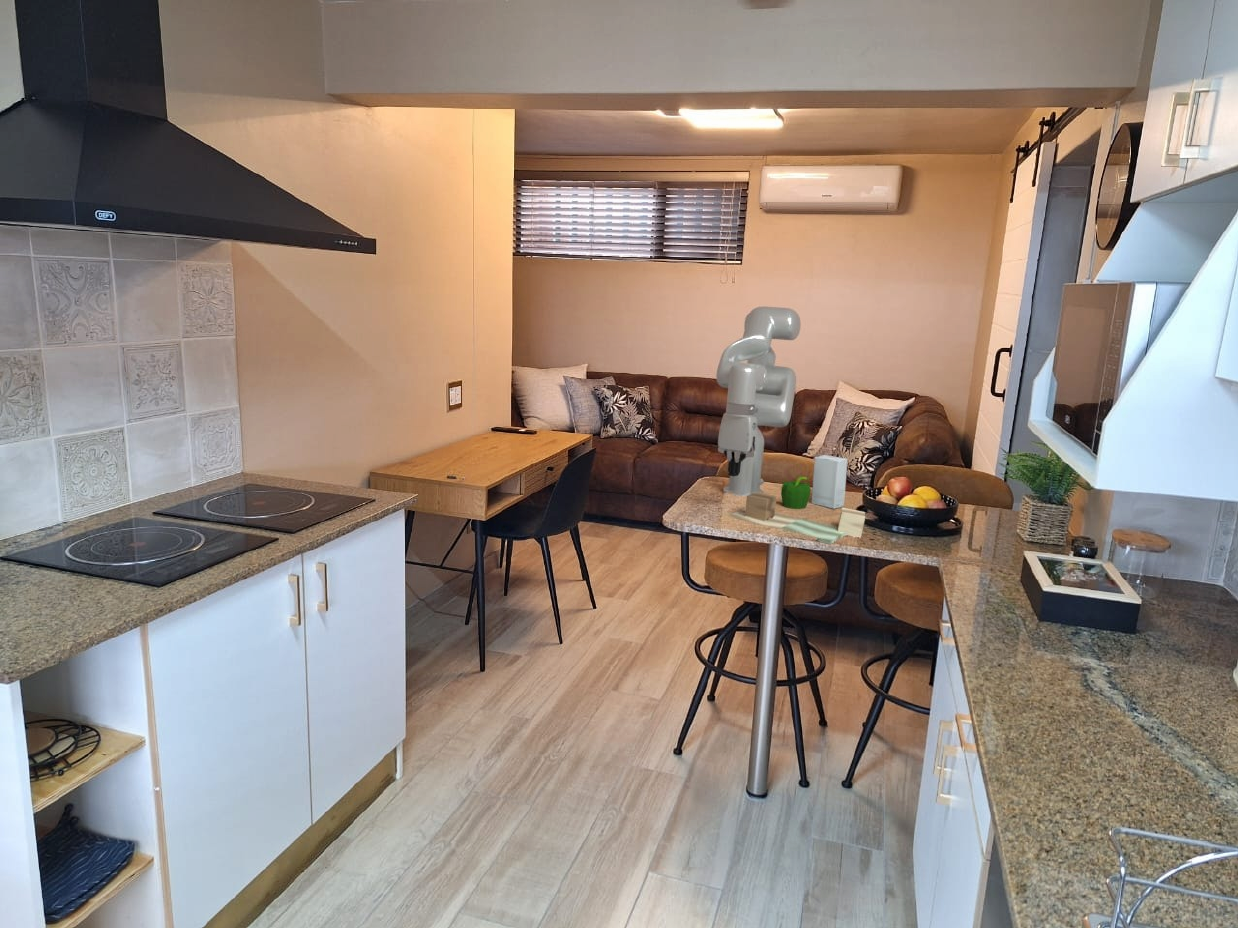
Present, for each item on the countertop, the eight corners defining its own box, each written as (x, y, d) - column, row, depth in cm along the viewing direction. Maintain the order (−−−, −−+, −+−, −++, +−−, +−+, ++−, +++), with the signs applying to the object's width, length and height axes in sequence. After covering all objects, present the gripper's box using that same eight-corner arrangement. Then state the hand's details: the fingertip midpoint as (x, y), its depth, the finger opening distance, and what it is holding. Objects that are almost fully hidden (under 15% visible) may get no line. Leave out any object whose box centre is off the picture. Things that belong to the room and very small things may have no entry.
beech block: (837, 528, 222) (842, 507, 220) (860, 533, 220) (864, 512, 219) (837, 534, 216) (841, 512, 215) (860, 539, 214) (865, 517, 213)
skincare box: (844, 506, 246) (850, 458, 243) (833, 509, 242) (839, 460, 239) (820, 500, 252) (825, 453, 249) (809, 503, 248) (814, 455, 245)
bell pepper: (775, 509, 238) (779, 476, 235) (784, 504, 245) (787, 471, 243) (804, 515, 234) (808, 481, 232) (811, 509, 241) (815, 476, 239)
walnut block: (754, 512, 229) (756, 491, 228) (774, 517, 226) (776, 496, 224) (744, 516, 224) (747, 495, 223) (764, 521, 221) (767, 499, 220)
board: (748, 510, 235) (748, 506, 235) (849, 533, 218) (850, 529, 218) (725, 519, 224) (726, 516, 224) (830, 544, 207) (830, 540, 207)
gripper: (770, 412, 223) (763, 478, 226) (722, 406, 231) (716, 469, 234) (758, 414, 216) (751, 481, 220) (709, 407, 225) (703, 472, 228)
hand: (733, 475), depth 227 cm, fingers closed
